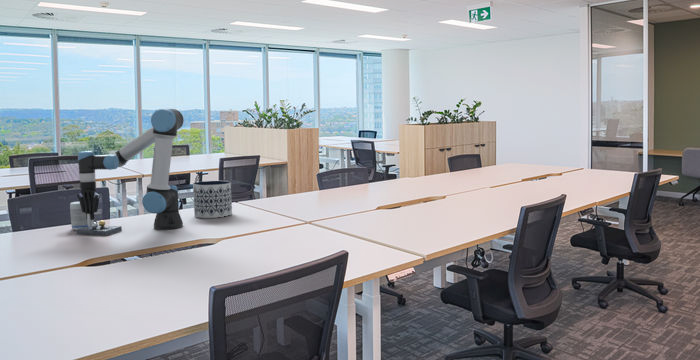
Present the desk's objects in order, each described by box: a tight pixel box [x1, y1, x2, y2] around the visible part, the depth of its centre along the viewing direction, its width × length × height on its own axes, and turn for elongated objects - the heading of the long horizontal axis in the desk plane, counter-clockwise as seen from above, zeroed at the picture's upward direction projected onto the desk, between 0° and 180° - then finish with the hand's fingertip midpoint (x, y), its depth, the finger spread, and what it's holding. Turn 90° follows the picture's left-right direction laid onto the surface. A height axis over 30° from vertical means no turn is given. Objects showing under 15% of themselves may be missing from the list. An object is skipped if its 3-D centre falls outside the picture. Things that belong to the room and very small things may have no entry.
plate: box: [75, 224, 123, 237], centre depth 280 cm, size 18×12×2 cm, turn 75°
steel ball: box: [91, 222, 99, 229], centre depth 279 cm, size 3×3×3 cm
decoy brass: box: [98, 220, 106, 227], centre depth 283 cm, size 3×3×3 cm
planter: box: [192, 180, 233, 219], centre depth 325 cm, size 22×22×20 cm
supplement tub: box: [69, 201, 88, 231], centre depth 290 cm, size 10×10×15 cm
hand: (90, 225), depth 279 cm, fingers closed
